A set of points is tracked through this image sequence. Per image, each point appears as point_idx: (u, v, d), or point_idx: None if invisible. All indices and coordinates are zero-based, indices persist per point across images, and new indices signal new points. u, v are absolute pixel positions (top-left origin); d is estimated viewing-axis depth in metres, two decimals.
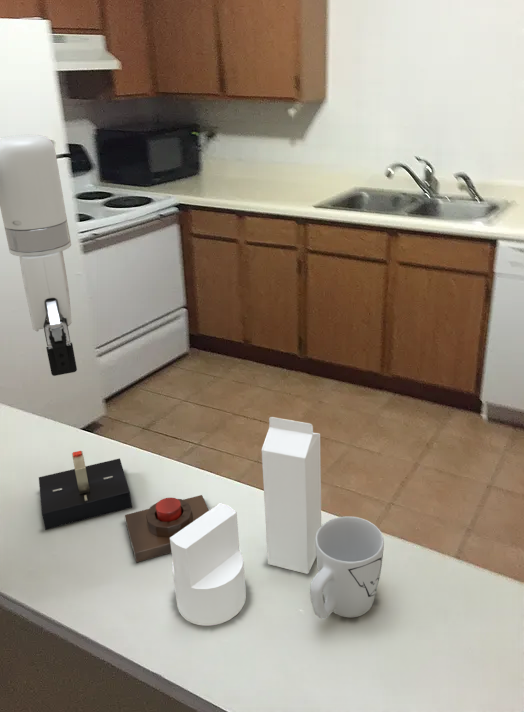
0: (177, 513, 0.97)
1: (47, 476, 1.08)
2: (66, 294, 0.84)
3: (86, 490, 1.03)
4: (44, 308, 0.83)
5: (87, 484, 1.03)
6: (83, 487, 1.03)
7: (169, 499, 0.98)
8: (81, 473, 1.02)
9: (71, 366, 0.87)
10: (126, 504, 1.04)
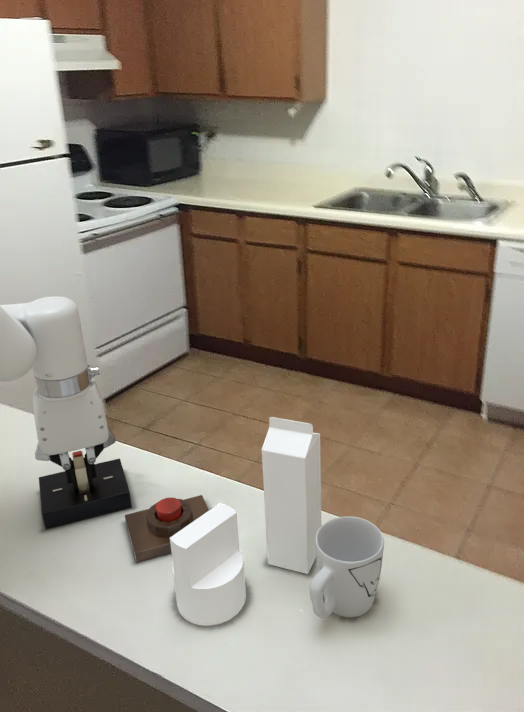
0: (177, 513, 0.97)
1: (47, 476, 1.08)
2: (39, 431, 0.98)
3: (86, 490, 1.03)
4: None
5: (87, 484, 1.03)
6: (83, 487, 1.03)
7: (169, 499, 0.98)
8: (81, 473, 1.02)
9: None
10: (126, 504, 1.04)
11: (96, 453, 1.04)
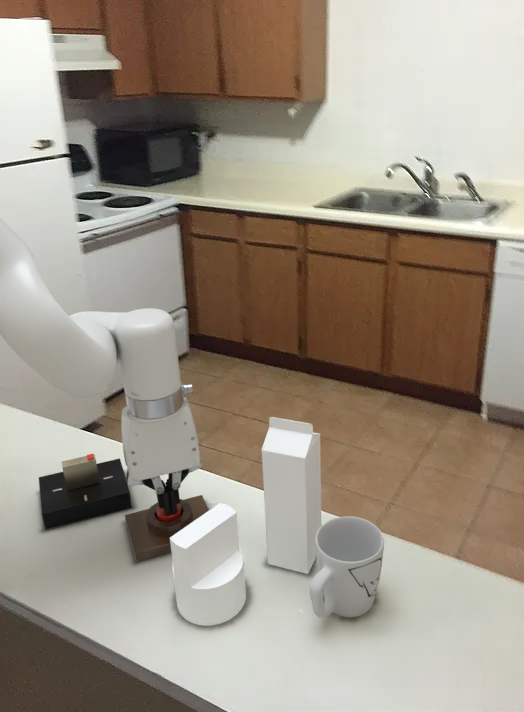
0: (177, 517, 0.97)
1: (47, 476, 1.08)
2: (129, 455, 0.90)
3: None
4: None
5: None
6: None
7: None
8: None
9: (165, 509, 0.96)
10: (126, 504, 1.04)
11: (181, 478, 0.95)
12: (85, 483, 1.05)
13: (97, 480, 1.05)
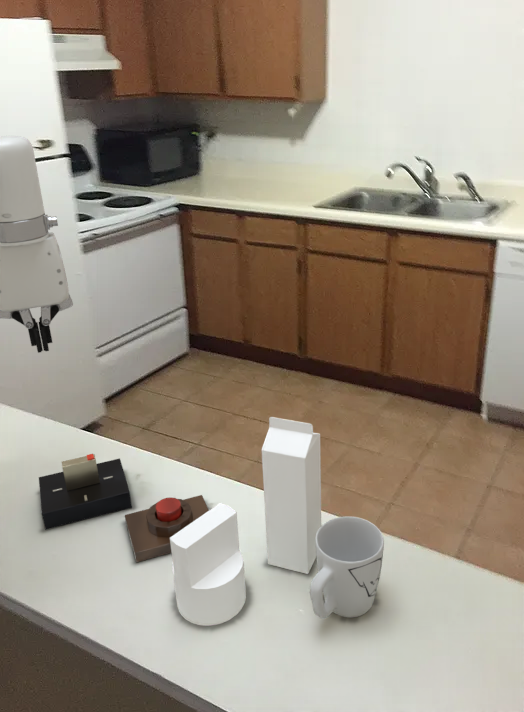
0: (177, 513, 0.97)
1: (47, 476, 1.08)
2: None
3: None
4: None
5: None
6: None
7: (169, 499, 0.98)
8: None
9: None
10: (126, 504, 1.04)
11: (51, 315, 0.98)
12: (85, 483, 1.05)
13: (97, 480, 1.05)
